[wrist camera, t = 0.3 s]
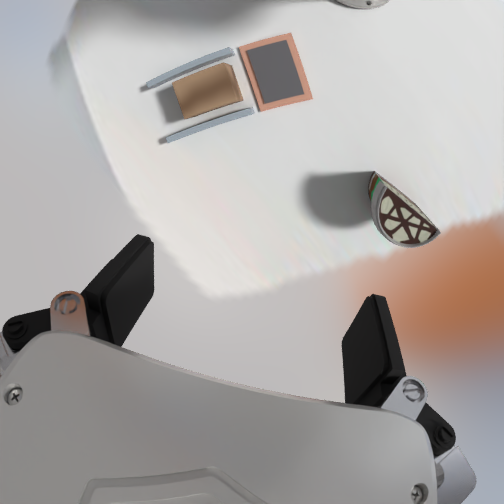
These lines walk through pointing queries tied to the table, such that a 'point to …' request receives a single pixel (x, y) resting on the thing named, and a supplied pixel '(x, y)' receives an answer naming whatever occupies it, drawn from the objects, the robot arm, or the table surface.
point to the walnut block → (207, 90)
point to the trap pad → (276, 72)
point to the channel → (188, 68)
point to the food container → (398, 215)
